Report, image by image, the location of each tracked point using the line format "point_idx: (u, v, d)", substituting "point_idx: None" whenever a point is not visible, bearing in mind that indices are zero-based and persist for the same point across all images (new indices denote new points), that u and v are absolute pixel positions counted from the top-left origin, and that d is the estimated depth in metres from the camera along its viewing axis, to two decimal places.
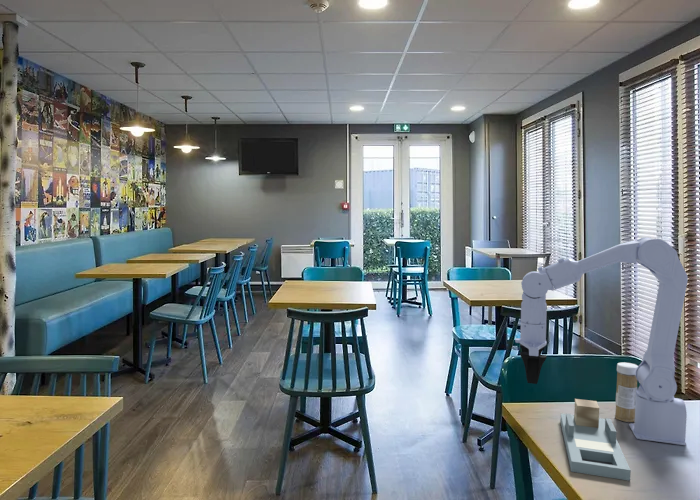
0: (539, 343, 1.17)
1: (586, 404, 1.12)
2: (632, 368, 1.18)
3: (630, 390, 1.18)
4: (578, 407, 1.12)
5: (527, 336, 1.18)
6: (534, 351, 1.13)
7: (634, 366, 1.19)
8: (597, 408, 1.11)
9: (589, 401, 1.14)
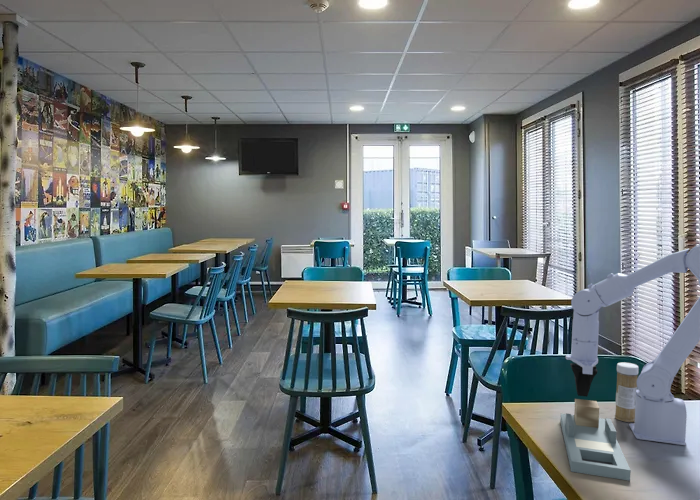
0: (591, 361, 1.17)
1: (586, 404, 1.12)
2: (632, 368, 1.18)
3: (630, 390, 1.18)
4: (578, 407, 1.12)
5: (579, 354, 1.18)
6: (588, 369, 1.13)
7: (634, 366, 1.19)
8: (597, 408, 1.11)
9: (589, 401, 1.14)
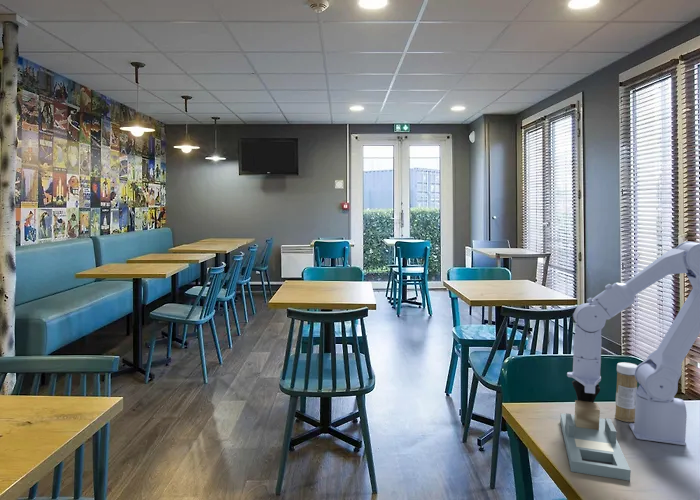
0: (594, 379, 1.13)
1: (586, 406, 1.11)
2: (632, 368, 1.18)
3: (630, 390, 1.18)
4: (578, 409, 1.11)
5: (581, 371, 1.13)
6: (590, 388, 1.09)
7: (634, 366, 1.19)
8: (597, 410, 1.10)
9: (590, 403, 1.13)
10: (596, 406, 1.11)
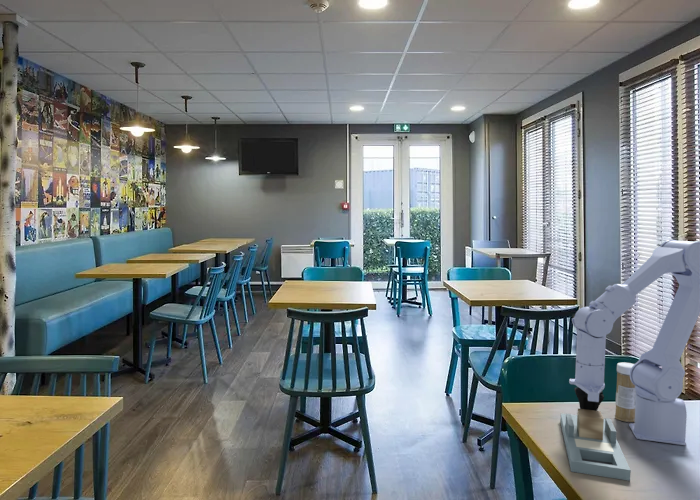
0: (597, 386, 1.08)
1: (589, 415, 1.06)
2: None
3: (630, 390, 1.18)
4: (581, 418, 1.06)
5: (584, 378, 1.08)
6: (594, 396, 1.04)
7: None
8: (601, 419, 1.05)
9: (593, 411, 1.08)
10: (600, 415, 1.06)
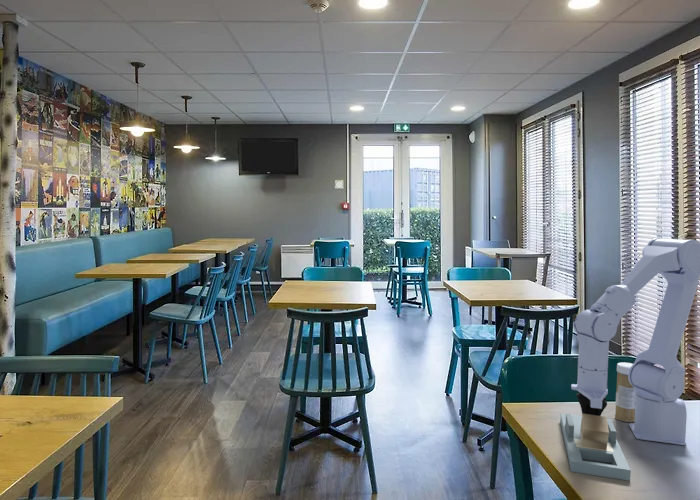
0: (600, 392, 1.04)
1: (594, 426, 1.00)
2: None
3: (630, 390, 1.18)
4: (585, 430, 1.00)
5: (587, 384, 1.05)
6: (597, 403, 1.00)
7: None
8: (606, 432, 0.99)
9: (598, 418, 1.02)
10: (605, 425, 1.00)
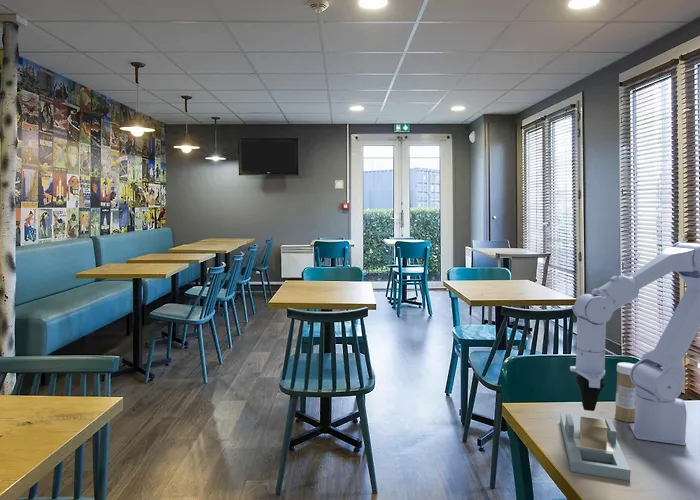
0: (598, 373, 1.08)
1: (592, 423, 1.02)
2: None
3: (630, 390, 1.18)
4: (584, 427, 1.01)
5: (585, 365, 1.09)
6: (595, 382, 1.04)
7: None
8: (605, 428, 1.00)
9: (596, 420, 1.04)
10: (603, 423, 1.02)
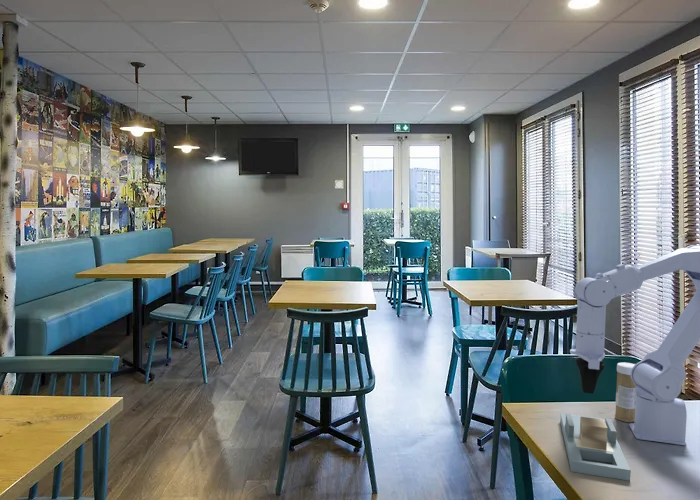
0: (598, 355, 1.09)
1: (592, 423, 1.02)
2: None
3: (630, 390, 1.18)
4: (584, 427, 1.01)
5: (585, 348, 1.09)
6: (594, 364, 1.05)
7: None
8: (605, 428, 1.00)
9: (596, 420, 1.04)
10: (603, 423, 1.02)
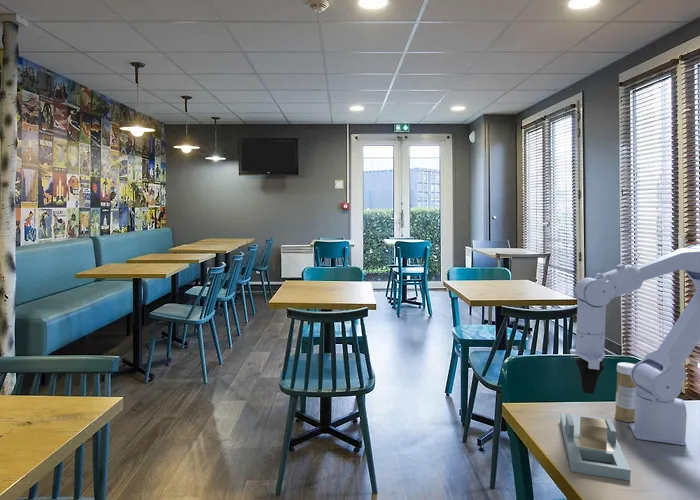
0: (598, 355, 1.09)
1: (592, 423, 1.02)
2: None
3: (630, 390, 1.18)
4: (584, 427, 1.01)
5: (585, 348, 1.09)
6: (594, 364, 1.05)
7: None
8: (605, 428, 1.00)
9: (596, 420, 1.04)
10: (603, 423, 1.02)
